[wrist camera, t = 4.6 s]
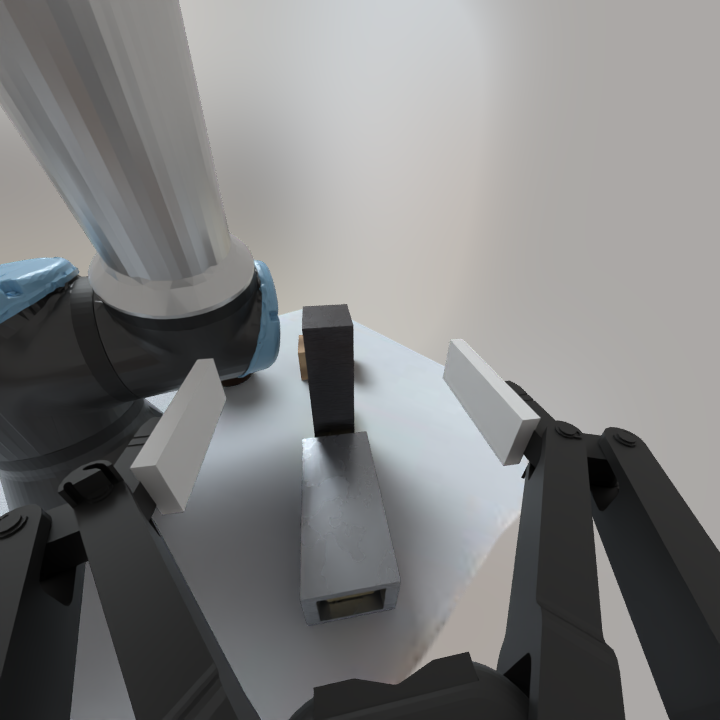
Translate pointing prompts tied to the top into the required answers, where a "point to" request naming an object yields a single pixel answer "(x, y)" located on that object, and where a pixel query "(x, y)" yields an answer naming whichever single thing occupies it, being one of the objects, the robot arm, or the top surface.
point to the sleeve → (344, 532)
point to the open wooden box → (302, 358)
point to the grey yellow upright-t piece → (330, 372)
